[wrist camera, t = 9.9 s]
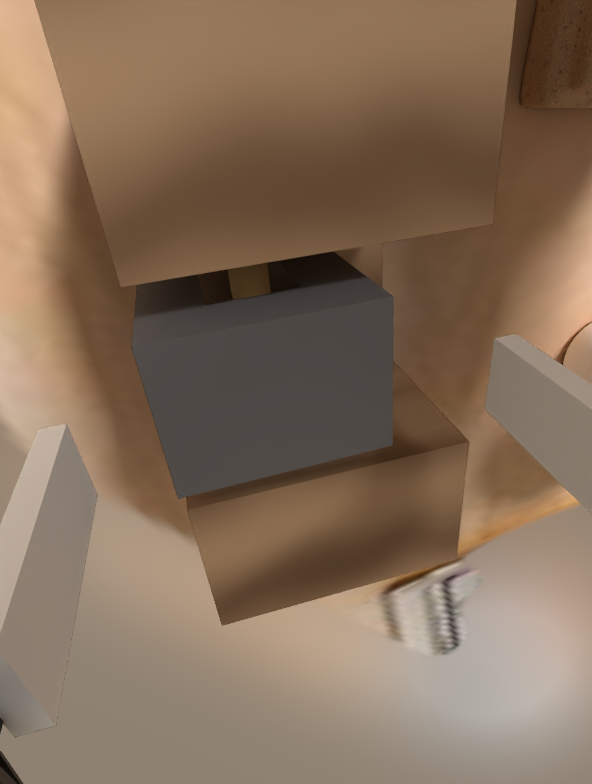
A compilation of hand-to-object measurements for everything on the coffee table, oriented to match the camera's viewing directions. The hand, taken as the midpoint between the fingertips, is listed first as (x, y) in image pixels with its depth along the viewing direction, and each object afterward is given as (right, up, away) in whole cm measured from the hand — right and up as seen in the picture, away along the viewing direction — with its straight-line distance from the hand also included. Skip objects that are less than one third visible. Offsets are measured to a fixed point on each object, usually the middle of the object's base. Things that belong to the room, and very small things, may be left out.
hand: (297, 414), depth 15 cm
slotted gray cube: (-3, +5, +9) cm, 11 cm away
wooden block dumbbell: (-1, +7, +12) cm, 13 cm away
